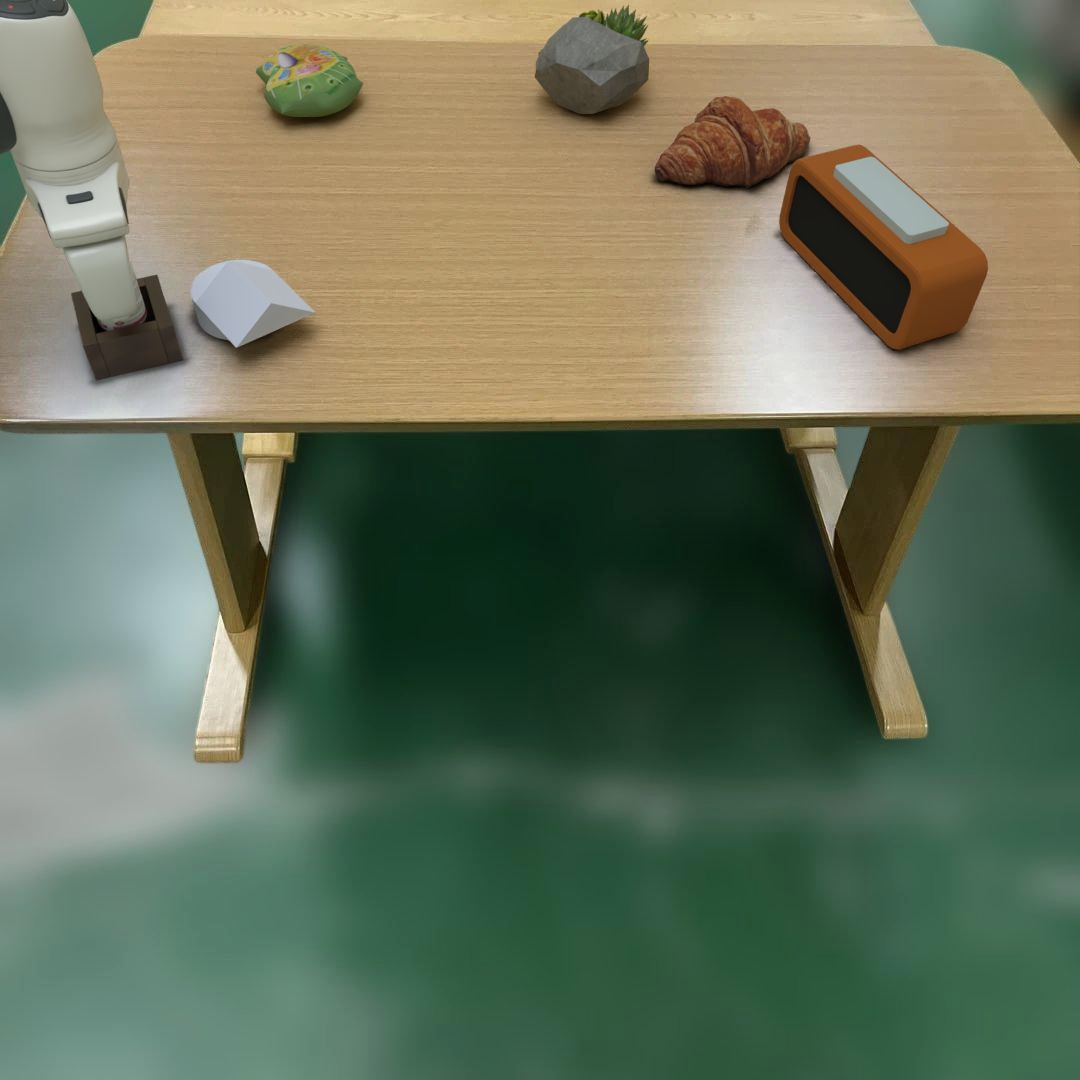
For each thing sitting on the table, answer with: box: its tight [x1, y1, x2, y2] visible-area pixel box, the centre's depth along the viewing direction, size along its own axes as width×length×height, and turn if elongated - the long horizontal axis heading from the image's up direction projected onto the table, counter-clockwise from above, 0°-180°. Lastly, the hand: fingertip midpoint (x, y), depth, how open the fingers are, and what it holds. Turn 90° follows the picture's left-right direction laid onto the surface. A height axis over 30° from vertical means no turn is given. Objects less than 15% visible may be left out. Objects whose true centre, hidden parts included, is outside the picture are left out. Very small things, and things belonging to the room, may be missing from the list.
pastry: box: [654, 95, 811, 189], centre depth 134 cm, size 17×15×8 cm
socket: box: [70, 274, 184, 381], centre depth 112 cm, size 9×9×4 cm
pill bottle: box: [97, 259, 147, 331], centre depth 108 cm, size 5×5×8 cm
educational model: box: [255, 43, 364, 118], centre depth 142 cm, size 13×16×5 cm
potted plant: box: [534, 4, 650, 115], centre depth 142 cm, size 12×13×15 cm
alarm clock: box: [778, 144, 989, 350], centre depth 119 cm, size 24×8×11 cm, turn 25°
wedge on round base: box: [190, 259, 316, 349], centre depth 114 cm, size 9×7×13 cm
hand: (115, 297), depth 109 cm, fingers closed on pill bottle, 5 cm apart
